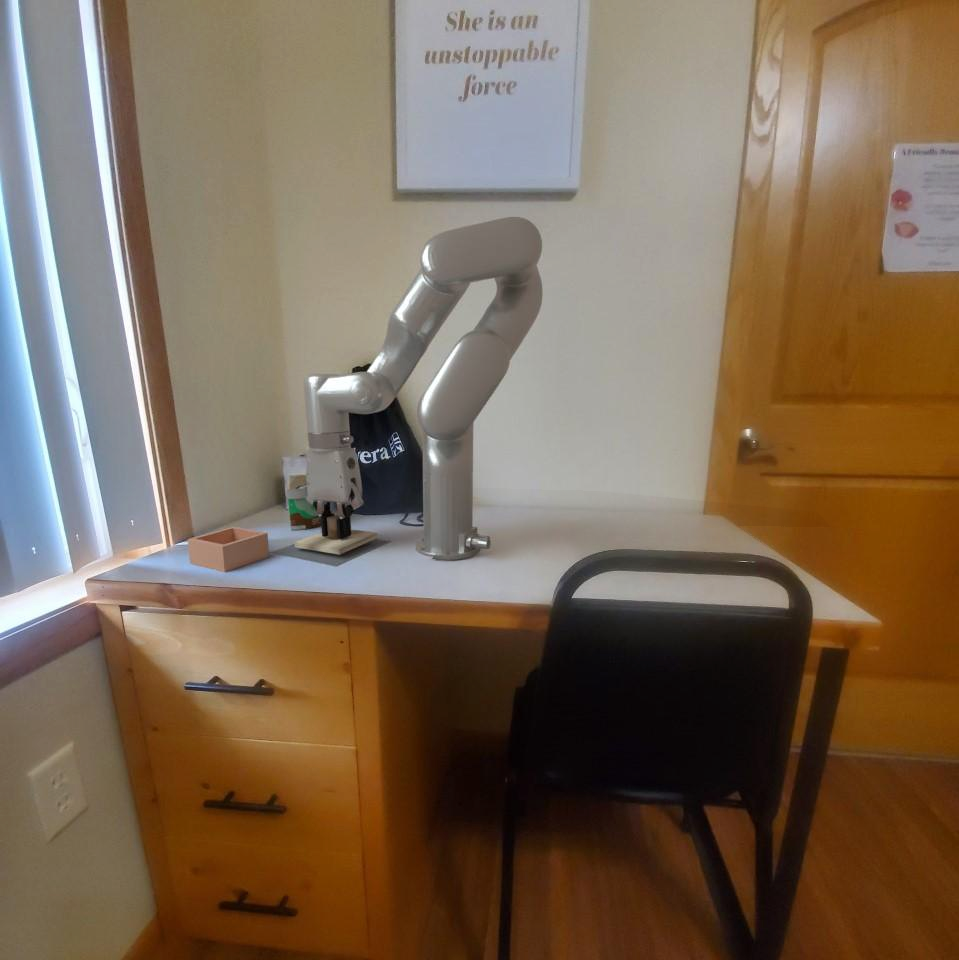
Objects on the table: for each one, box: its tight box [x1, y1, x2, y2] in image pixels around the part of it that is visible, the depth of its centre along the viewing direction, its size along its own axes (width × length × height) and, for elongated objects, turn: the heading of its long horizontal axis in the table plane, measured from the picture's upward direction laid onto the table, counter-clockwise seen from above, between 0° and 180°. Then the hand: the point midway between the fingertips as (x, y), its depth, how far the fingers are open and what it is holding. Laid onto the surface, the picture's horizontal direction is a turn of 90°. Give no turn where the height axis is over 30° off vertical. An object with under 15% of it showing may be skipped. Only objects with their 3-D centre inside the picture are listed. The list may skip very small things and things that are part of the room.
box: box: [286, 471, 307, 519], centre depth 116 cm, size 5×4×11 cm
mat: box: [269, 538, 392, 567], centre depth 94 cm, size 16×16×1 cm
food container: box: [286, 484, 321, 532], centre depth 108 cm, size 12×6×10 cm, turn 179°
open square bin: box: [187, 526, 270, 573], centre depth 86 cm, size 9×9×5 cm
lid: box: [293, 514, 379, 555], centre depth 93 cm, size 11×11×5 cm
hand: (336, 535), depth 93 cm, fingers closed on lid, 3 cm apart
